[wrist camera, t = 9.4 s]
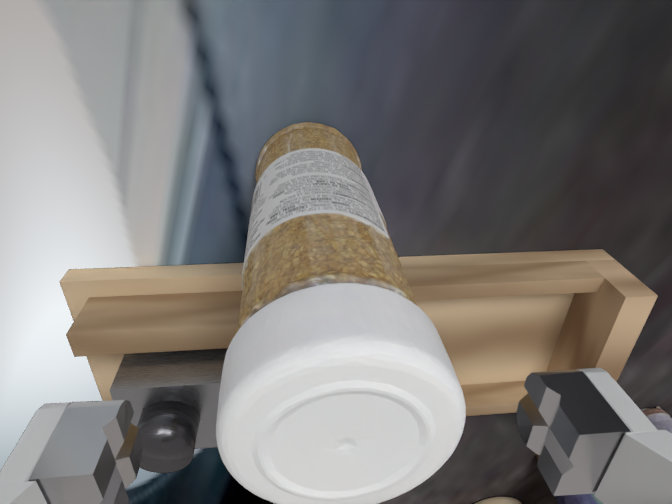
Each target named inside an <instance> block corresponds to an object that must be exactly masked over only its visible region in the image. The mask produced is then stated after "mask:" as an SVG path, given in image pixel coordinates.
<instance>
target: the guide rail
mask: <svg viewBox="0 0 672 504" xmlns="http://www.w3.org/2000/svg"><path fill="white" fill-rule="evenodd" d="M398 258H399V260H400V262H401V266H402V269H403V272H404V275H405V277H406V280H407V282H408V284H409V287H410V290H411V292H412V294H413V296H414V298H415V301H416V304H417V306H418V307H419V308H421V310H422V311H423V312H424V313H425V314H426V315H427V316H428V317H429V318H430V320H431V321H432V322H433V324H434V326H435V327H436V329H437V331H438V334H439V336H440V338H441V340H442V342H443V345H444V347H445V349H446V352H447V354H448V356H449V359H450V361H451V363H452V366H453V368H454V371H455V373H456V376H457V378H458V380H459V383H460V385H461V388H462V391H463V395H464V399H465V405H466V416H473V415H487V414H500V413H514V412H516V411H517V407H518V403H519V401H520V400H521V399H522V398H523V397H524V396H525V395H526V394H528V392H527V390H526V389H525V387H524V384H525V381H526V378H527V376H528V375H529V374H530V373H533V372H546V371H559V370H571V369H574V370H576V369H587V368H602V369H604V370H605V371H607V372H608V373H609V374H610V375H611V377H612V378H613V379H614V380H615V381H616V382H617V380H618V378H619V376H620V374H621V372H622V370H623V368H624V365H625V363H626V361H627V359H628V357H629V355H630V353H631V351H632V349H633V347H634V345H635V343H636V340H637V338H638V336H639V334H640V332H641V330H642V328H643V326H644V324H645V322H646V320H647V318H648V316H649V313H650V311H651V309H652V307H653V305H654V303H655V301H656V299H657V297H658V295H656V294H655V293H654V292H653V291H652V290H650V289H649V288H648V287H647V286H646V285H644V284H643V283H642V282H641V281H640V280H639V279H637V278H636V277H635V276H634V275H633V274H631V273H630V272H629V271H628V270H627V269H625V268H624V267H623V266H622V265H621V264H620V263H618V262H617V261H616V260H615V259H614V258H612V257H611V256H610V255H609V254H608V253H606V252H605V251H604V250H603V249H594V250H568V251H542V252H515V253H489V254H463V255H436V256H410V257H398ZM243 264H244V263H226V264H199V265H173V266H146V267H121V268H96V269H95V268H94V269H69V270H68V271H67V273H66V274H65V275H64V277H63V278H62V279H61V281H60V285H61V287H62V290H63V293H64V296H65V298H66V301H67V304H68V307H69V309H70V312H71V315H72V318H73V320H74V323H73V324H72V326H71V328H70V329H69V331H68V333H67V334H66V336H67V338H68V341H69V343H70V346H71V349H72V351H73V354H74V356H75V357H76V356H87V359H88V362H89V364H90V367H91V370H92V372H93V375H94V378H95V381H96V383H97V386H98V389H99V392H100V395H101V397H102V400H103V401H111V400H113V399H112V397H111V394H110V391H109V390H110V388H111V385H112V383H113V380H114V378H115V376H116V373H117V371H118V369H119V366H120V364H121V362H122V359H123V357H124V354H131V353H149V352H166V351H184V350H202V349H220V348H228V347H229V345H230V343H231V341H232V339H233V337H234V336H235V334H236V330H237V328H238V325H239V315H240V305H241V298H242V271H243Z"/></svg>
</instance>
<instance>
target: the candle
mask: <svg viewBox="0 0 672 504" xmlns="http://www.w3.org/2000/svg"><path fill="white" fill-rule="evenodd" d="M474 504H522V503H521V502H520V501H519V500H517V499H515V498H511V497H493V498H488V499H484V500H481V501H479V502H476V503H474Z"/></svg>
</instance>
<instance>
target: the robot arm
mask: <svg viewBox="0 0 672 504" xmlns="http://www.w3.org/2000/svg"><path fill="white" fill-rule="evenodd" d="M524 387H525V389H526V390H527V392H528V394H526V395H525V396H524V397H523V398H522V399H521V400H520V401H519V403H518V407H517V411H516V415H517V425H518V429H519V432H520V435H521V437H522V439H523V441H524V443H525V445H526V446H527V447H528V448H530V449H531V450H532V451H534V452H535V453H536V454H538V455H539V456H538V461H537V467H538V469H539V471H540V472H541V474H542V476H543V478H544V480H545V482H546V483H547V485H548V487H549V489H550V491H551V492H552V494H553V496H562V495H578V494H593V493H595V495H594V496H595V497H596V498H597V499H598V500H600V501H601V502H602V503H603V504H672V433H670V432H668V431H667V430H657V428H656V427H655V426H654V425H653V424H652V423H651V422H650V420H649V419H648V418H647V417H646V416H645V415H644V413H643V412H642V411H641V410H640V409H639V408H638V407H637V405H636V404H635V403H634V402H633V401H632V400H631V399H630V397H629V396H628V395H627V394H626V393H625V392H624V390H623V389H622V388H621V387H620V386H619V385H618V384H617V382H616V381H615V380H614V379H613V378H612V377H611V375H610V374H609V373H608V372H607V371H605V370H604V369H602V368H587V369H576V370H574V369H571V370H559V371H546V372H533V373H530V374H529V375H528V376H527V378H526V381H525V384H524ZM133 414H134V411H133V408H132V405H131V403H130V401H128V400H111V401H90V402H89V401H88V402H72V403H50V404H44V405H43V406H41V407H40V408H39V409H38V410H37V411H36V413H35V414H34V416H33V417H32V419H31V421H30V422H29V424H28V426H27V427H26V429H25V431H24V432H23V434H22V436H21V438H20V439H19V441H18V443H17V444H16V446H15V448H14V449H13V451H12V452H11V454H10V456H9V458H8V459H7V461H6V463H5V464H4V466H3V467H2V469H1V471H0V504H129V498H128V495H127V493H126V490H125V489H126V488H127V487H128V486H129V485H130V484H131V483H132V482H133V481H134V480H135V479H136V477H137V473H138V470H139V467H140V462H141V453H142V442H141V435H140V431H139V428H138V427H136V426H135V425H133V424H132V423H131V420H132V417H133Z"/></svg>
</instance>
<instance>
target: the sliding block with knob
mask: <svg viewBox="0 0 672 504" xmlns="http://www.w3.org/2000/svg"><path fill="white" fill-rule="evenodd" d="M227 350H228V348H220V349H202V350H184V351H166V352H149V353H131V354H124V357H123V359H122V362H121V364H120V366H119V369H118V371H117V373H116V376H115V378H114V380H113V383H112V385H111V388H110V390H109V391H110V394H111V397H112V399H113V400H128V401H130V403H131V405H132V408H133V411H134V414H133V417H132V420H131V423H132V424H133V425H135V426H136V427H138V428H139V431H140V435H141V442H142V453H141V462H140V468H142V469H144V470H147V471H150V472H156V473H169V472H175V471H178V470H180V469H183V468H184V467H186V466H187V465H188V464H189V463H190V462H191V461H192V458H193V454H194V449H198V448H212V447H217V440H216V419H217V410H218V400H219V391H220V384H221V377H222V370H223V364H224V360H225V355H226V352H227ZM273 504H276V503H273Z"/></svg>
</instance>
